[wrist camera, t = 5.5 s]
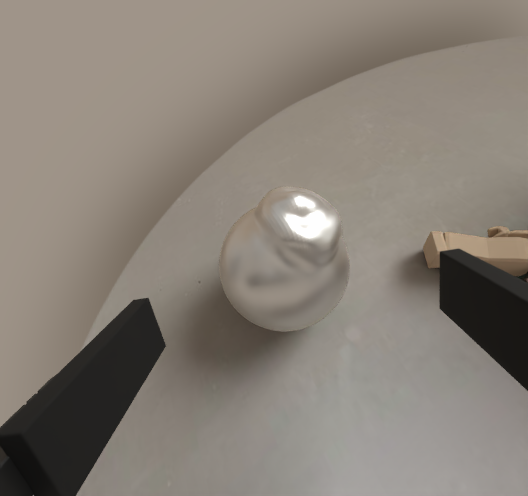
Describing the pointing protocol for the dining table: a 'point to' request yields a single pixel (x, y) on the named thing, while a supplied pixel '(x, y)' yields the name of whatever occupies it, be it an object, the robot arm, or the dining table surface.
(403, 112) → the dining table surface
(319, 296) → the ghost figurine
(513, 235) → the toy figure
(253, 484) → the dining table surface
